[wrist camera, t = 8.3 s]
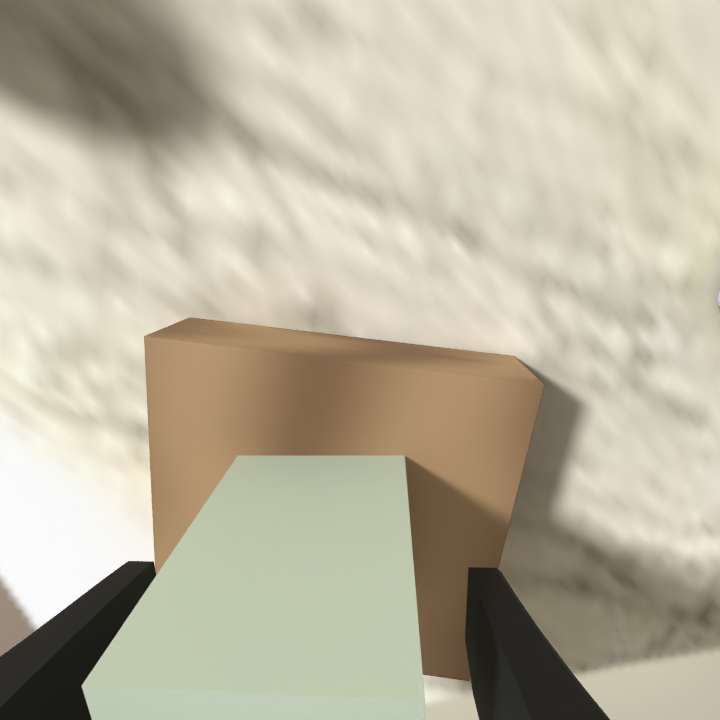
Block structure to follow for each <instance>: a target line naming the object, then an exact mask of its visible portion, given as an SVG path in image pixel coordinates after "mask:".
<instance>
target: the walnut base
mask: <svg viewBox="0 0 720 720" xmlns="http://www.w3.org/2000/svg"><path fill="white" fill-rule="evenodd" d="M144 344H145V365H146V386H147V407H148V428H149V449H150V470H151V491H152V511H153V532H154V553H155V571H156V575H157V574H158V572H159V571H160V569H161V568H162V566H163V565H164V563H165V562H166V560H167V559H168V558H169V556H170V555H171V553H172V552H173V550H174V549H175V547H176V546H177V544H178V543H179V541H180V540H181V538H182V537H183V535H184V534H185V532H186V531H187V530H188V528H189V527H190V525H191V524H192V522H193V521H194V519H195V518H196V516H197V515H198V513H199V512H200V510H201V509H202V507H203V506H204V504H205V503H206V501H207V500H208V499H209V497H210V496H211V494H212V493H213V491H214V490H215V488H216V487H217V485H218V484H219V482H220V481H221V479H222V478H223V476H224V475H225V473H226V472H227V470H228V469H229V468H230V466H231V465H232V463H233V462H234V460H235V459H236V457H237V456H405V466H406V478H407V490H408V502H409V515H410V527H411V539H412V551H413V563H414V575H415V587H416V599H417V612H418V624H419V636H420V648H421V660H422V672H423V675H430V676H437V677H444V678H451V679H458V680H466V681H470V670H469V663H468V657H467V650H466V643H465V626H466V605H467V584H468V567H483V568H497V569H498V566H499V562H500V558H501V554H502V550H503V546H504V542H505V538H506V535H507V531H508V527H509V523H510V519H511V515H512V511H513V507H514V503H515V499H516V495H517V491H518V487H519V483H520V479H521V475H522V471H523V467H524V463H525V460H526V456H527V452H528V448H529V444H530V440H531V436H532V432H533V428H534V424H535V420H536V416H537V412H538V408H539V404H540V400H541V396H542V392H543V388H544V384H543V383H542V382H541V381H540V380H539V379H538V378H537V377H536V376H535V375H534V374H533V373H531V372H530V371H529V370H528V369H527V368H526V367H525V366H524V365H523V364H522V363H521V362H520V361H519V360H518V359H517V358H516V357H515V356H508V355H500V354H491V353H483V352H474V351H466V350H457V349H449V348H441V347H432V346H424V345H415V344H407V343H399V342H390V341H382V340H373V339H365V338H357V337H348V336H340V335H331V334H323V333H314V332H306V331H298V330H289V329H281V328H272V327H264V326H256V325H247V324H239V323H230V322H222V321H214V320H205V319H197V318H187V319H185V320H183V321H180V322H178V323H175V324H173V325H171V326H168V327H166V328H163V329H161V330H159V331H156V332H154V333H151V334H149V335H146V336H144Z"/></svg>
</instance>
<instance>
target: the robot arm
mask: <svg viewBox="0 0 720 720" xmlns="http://www.w3.org/2000/svg"><path fill="white" fill-rule="evenodd" d="M718 304H719V307H720V291H719V294H718ZM155 577H156V571H155V566H154V562H143V561H128V562H127V563H125V564H124V565H122V566H121V567H120V568H118V569H117V570H115V571H114V572H113V573H111V574H110V575H109V576H107V577H106V578H105V579H103V580H102V581H101V582H99V583H98V584H97V585H95V586H94V587H93V588H91V589H90V590H89V591H88V592H86V593H85V594H84V595H82V596H81V597H80V598H78V599H77V600H76V601H74V602H73V603H72V604H71V605H69V606H68V607H67V608H65V609H64V610H63V611H61V612H60V613H59V614H57V615H56V616H55V617H53V618H52V619H51V620H49V621H48V622H47V623H45V624H44V625H43V626H41V627H40V628H39V629H37V630H36V631H35V632H33V633H32V634H31V635H29V636H28V637H27V638H25V639H24V640H23V641H22V642H20V643H19V644H17V645H16V646H14V647H13V648H12V649H10V650H9V651H8V652H6V653H5V654H4V655H2V656H1V657H0V720H92V718H91V715H90V712H89V709H88V706H87V702H86V699H85V696H84V693H83V689H82V684H83V683H84V681H85V680H86V679H87V677H88V676H89V674H90V673H91V671H92V670H93V668H94V667H95V665H96V664H97V662H98V661H99V659H100V658H101V656H102V655H103V653H104V652H105V650H106V649H107V648H108V646H109V645H110V643H111V642H112V640H113V639H114V637H115V636H116V634H117V633H118V631H119V630H120V628H121V627H122V625H123V624H124V622H125V621H126V620H127V618H128V617H129V615H130V614H131V612H132V611H133V609H134V608H135V606H136V605H137V603H138V602H139V600H140V599H141V597H142V596H143V594H144V593H145V591H146V590H147V589H148V587H149V586H150V584H151V583H152V581H153V580H154V578H155ZM465 643H466V650H467V657H468V663H469V670H470V677H471V683H472V689H473V695H474V699H475V703H476V708H477V712H478V716H479V720H610V719H609V718H608V716H607V715H606V714H605V713H604V712H603V710H602V709H601V708H600V707H599V706H598V704H597V703H596V702H595V701H594V699H593V698H592V697H591V696H590V695H589V693H588V692H587V691H586V690H585V688H584V687H583V686H582V685H581V684H580V682H579V681H578V680H577V678H576V677H575V676H574V675H573V673H572V672H571V671H570V669H569V668H568V667H567V665H566V664H565V663H564V661H563V660H562V659H561V657H560V656H559V655H558V653H557V652H556V651H555V649H554V648H553V647H552V646H551V644H550V643H549V642H548V640H547V639H546V637H545V636H544V635H543V633H542V632H541V631H540V629H539V628H538V626H537V625H536V624H535V622H534V621H533V619H532V618H531V616H530V615H529V614H528V612H527V611H526V609H525V608H524V606H523V605H522V603H521V602H520V600H519V599H518V597H517V596H516V594H515V593H514V591H513V590H512V588H511V587H510V585H509V584H508V582H507V581H506V579H505V577H504V576H503V574H502V573H501V572H500V571H499V570H498V569H497V568H483V567H468V584H467V605H466V626H465Z"/></svg>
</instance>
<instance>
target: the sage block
mask: <svg viewBox="0 0 720 720" xmlns="http://www.w3.org/2000/svg"><path fill="white" fill-rule="evenodd" d="M82 689H83V693H84V696H85V699H86V702H87V706H88V709H89V712H90V715H91V718H92V720H425V719H424V716H425V696H424V684H423V672H422V660H421V648H420V636H419V624H418V612H417V599H416V587H415V575H414V563H413V551H412V539H411V527H410V515H409V502H408V490H407V478H406V466H405V456H237V457H236V459H235V460H234V462H233V463H232V465H231V466H230V468H229V469H228V470H227V472H226V473H225V475H224V476H223V478H222V479H221V481H220V482H219V484H218V485H217V487H216V488H215V490H214V491H213V493H212V494H211V496H210V497H209V499H208V500H207V501H206V503H205V504H204V506H203V507H202V509H201V510H200V512H199V513H198V515H197V516H196V518H195V519H194V521H193V522H192V524H191V525H190V527H189V528H188V530H187V531H186V532H185V534H184V535H183V537H182V538H181V540H180V541H179V543H178V544H177V546H176V547H175V549H174V550H173V552H172V553H171V555H170V556H169V558H168V559H167V560H166V562H165V563H164V565H163V566H162V568H161V569H160V571H159V572H158V574H157V575H156V577H155V578H154V580H153V581H152V583H151V584H150V586H149V587H148V589H147V590H146V591H145V593H144V594H143V596H142V597H141V599H140V600H139V602H138V603H137V605H136V606H135V608H134V609H133V611H132V612H131V614H130V615H129V617H128V618H127V620H126V621H125V622H124V624H123V625H122V627H121V628H120V630H119V631H118V633H117V634H116V636H115V637H114V639H113V640H112V642H111V643H110V645H109V646H108V648H107V649H106V650H105V652H104V653H103V655H102V656H101V658H100V659H99V661H98V662H97V664H96V665H95V667H94V668H93V670H92V671H91V673H90V674H89V676H88V677H87V679H86V680H85V681H84V683H83V684H82Z"/></svg>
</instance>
